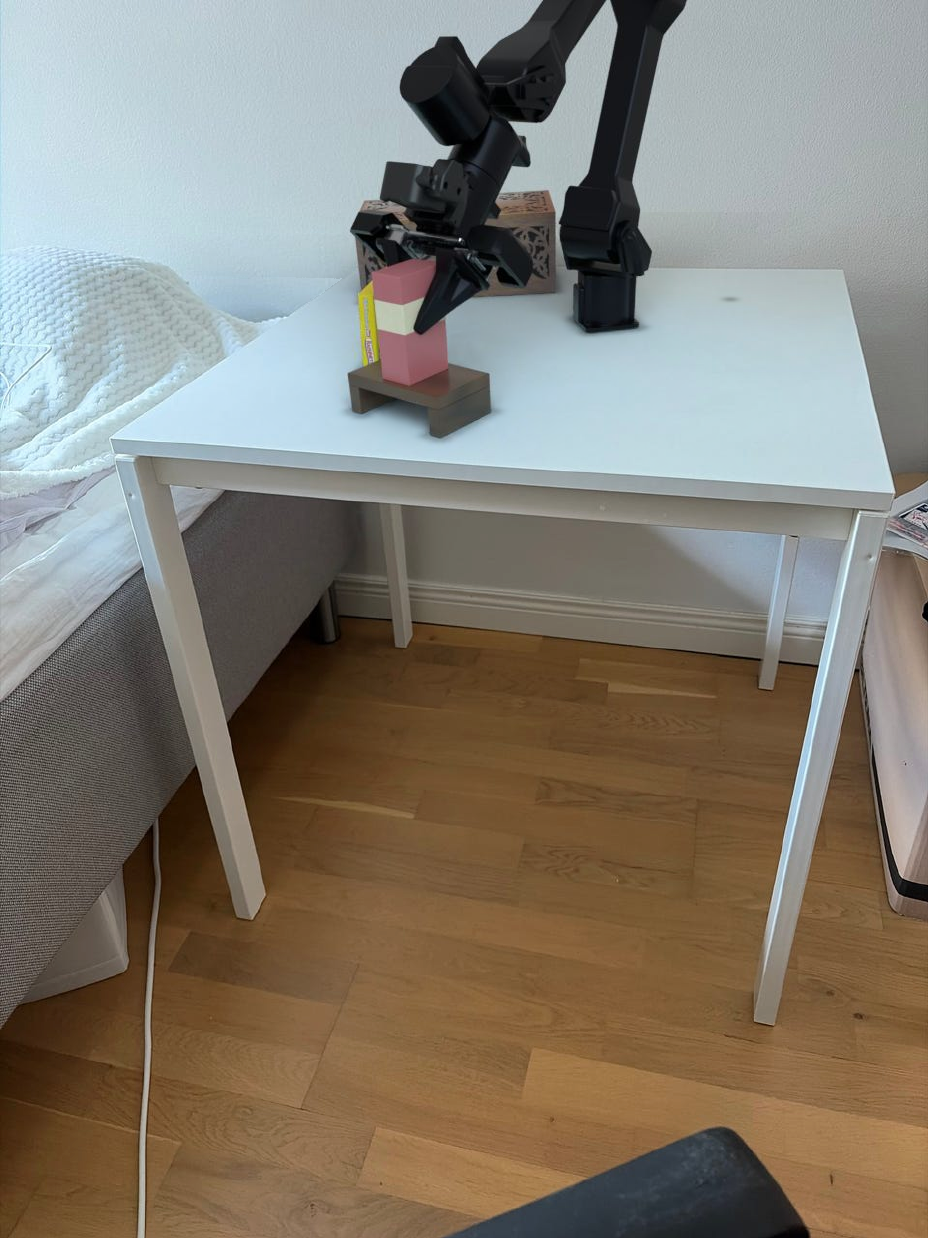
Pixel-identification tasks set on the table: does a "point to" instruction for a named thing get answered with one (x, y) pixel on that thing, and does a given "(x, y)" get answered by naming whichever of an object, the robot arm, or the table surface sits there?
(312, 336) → the table surface
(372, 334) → the candy box
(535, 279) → the tissue box cover
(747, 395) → the table surface
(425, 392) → the shelf
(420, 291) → the packet
